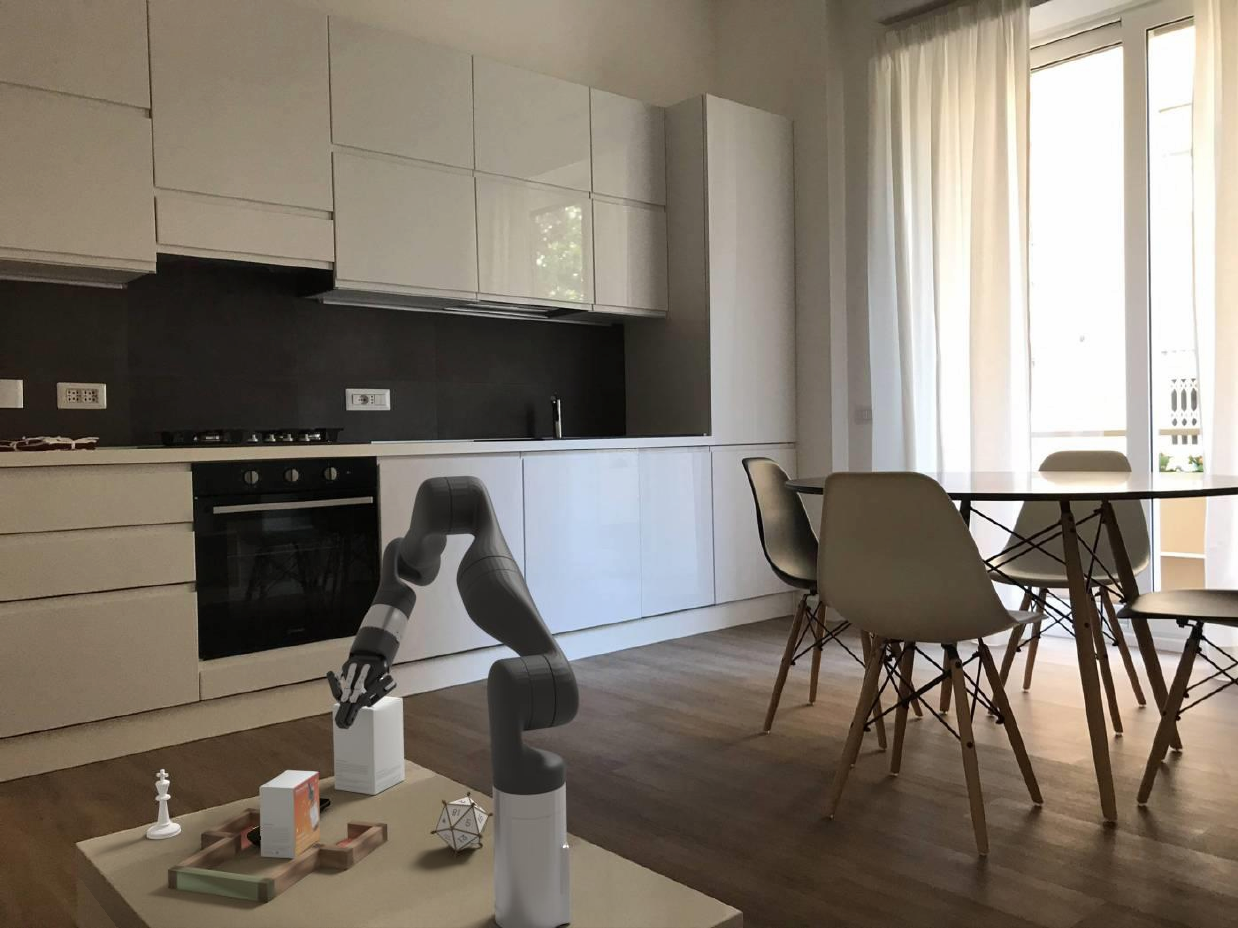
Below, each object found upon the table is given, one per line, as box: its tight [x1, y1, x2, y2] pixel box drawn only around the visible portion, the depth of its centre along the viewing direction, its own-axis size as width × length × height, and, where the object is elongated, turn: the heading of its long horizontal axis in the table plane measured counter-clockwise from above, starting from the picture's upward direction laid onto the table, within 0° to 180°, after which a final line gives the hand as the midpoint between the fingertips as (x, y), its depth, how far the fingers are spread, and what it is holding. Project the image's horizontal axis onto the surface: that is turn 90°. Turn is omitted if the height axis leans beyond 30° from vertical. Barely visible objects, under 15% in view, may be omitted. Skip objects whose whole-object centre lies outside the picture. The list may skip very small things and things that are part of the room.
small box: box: [258, 769, 321, 859], centre depth 154 cm, size 8×6×10 cm
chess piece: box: [146, 769, 182, 840], centre depth 160 cm, size 5×5×10 cm
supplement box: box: [331, 694, 406, 796], centre depth 182 cm, size 9×9×15 cm
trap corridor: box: [167, 807, 389, 903], centre depth 149 cm, size 23×25×2 cm
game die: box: [429, 790, 493, 858], centre depth 153 cm, size 9×8×10 cm
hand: (341, 726), depth 167 cm, fingers closed
